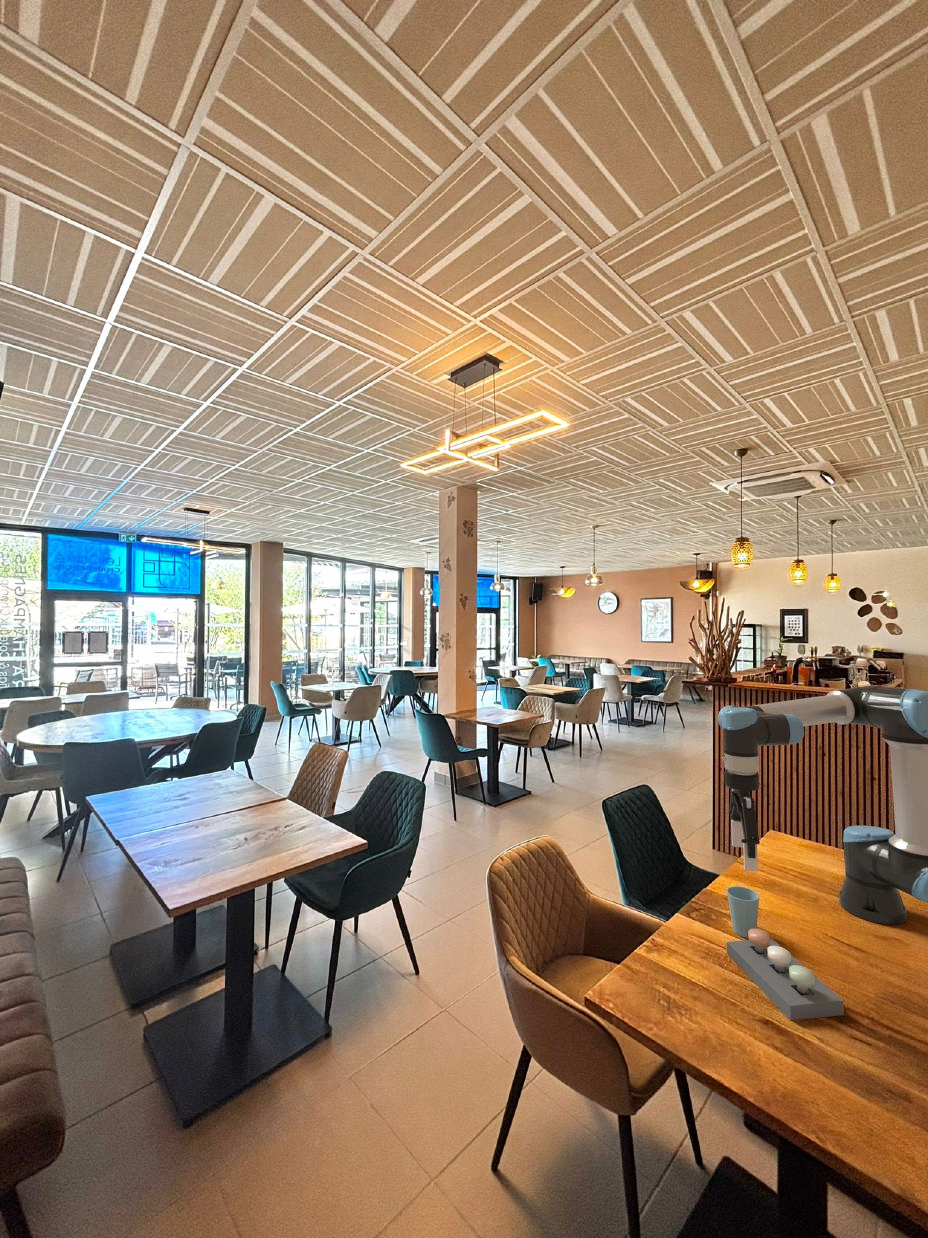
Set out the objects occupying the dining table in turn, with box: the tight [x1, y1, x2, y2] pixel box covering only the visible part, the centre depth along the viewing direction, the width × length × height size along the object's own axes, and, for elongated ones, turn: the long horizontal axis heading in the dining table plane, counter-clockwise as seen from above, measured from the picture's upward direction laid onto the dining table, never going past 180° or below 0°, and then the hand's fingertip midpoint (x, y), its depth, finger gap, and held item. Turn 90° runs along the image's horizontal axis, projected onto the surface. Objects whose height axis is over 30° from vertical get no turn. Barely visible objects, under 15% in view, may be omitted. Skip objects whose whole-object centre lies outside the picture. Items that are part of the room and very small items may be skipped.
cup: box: [726, 885, 760, 939], centre depth 136 cm, size 8×8×10 cm
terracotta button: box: [748, 928, 771, 953], centre depth 124 cm, size 5×5×4 cm
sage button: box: [789, 965, 815, 994], centre depth 110 cm, size 5×5×4 cm
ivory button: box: [768, 946, 792, 972], centre depth 117 cm, size 5×5×4 cm
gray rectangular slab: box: [726, 937, 845, 1021], centre depth 117 cm, size 12×22×3 cm, turn 5°
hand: (744, 858), depth 125 cm, fingers open, 13 cm apart
